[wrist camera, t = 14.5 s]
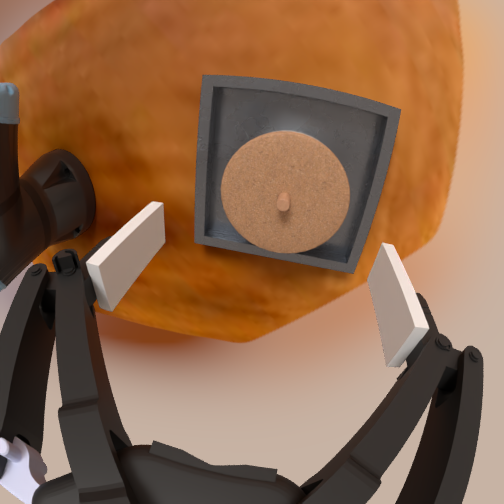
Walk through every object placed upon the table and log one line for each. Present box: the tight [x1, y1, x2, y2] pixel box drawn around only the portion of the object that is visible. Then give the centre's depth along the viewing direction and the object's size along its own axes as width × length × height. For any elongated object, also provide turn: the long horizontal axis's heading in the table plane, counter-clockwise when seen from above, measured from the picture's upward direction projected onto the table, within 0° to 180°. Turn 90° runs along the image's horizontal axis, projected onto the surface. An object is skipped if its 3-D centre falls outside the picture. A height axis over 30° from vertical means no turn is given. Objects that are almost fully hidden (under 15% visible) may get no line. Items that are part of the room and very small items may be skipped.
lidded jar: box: [221, 130, 350, 253], centre depth 24 cm, size 11×11×9 cm
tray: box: [195, 75, 401, 274], centre depth 28 cm, size 19×19×3 cm
